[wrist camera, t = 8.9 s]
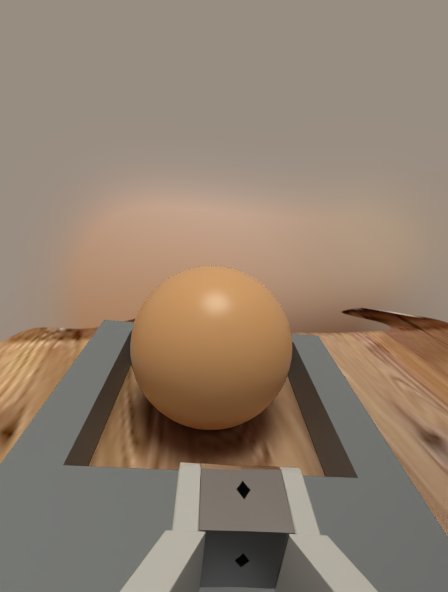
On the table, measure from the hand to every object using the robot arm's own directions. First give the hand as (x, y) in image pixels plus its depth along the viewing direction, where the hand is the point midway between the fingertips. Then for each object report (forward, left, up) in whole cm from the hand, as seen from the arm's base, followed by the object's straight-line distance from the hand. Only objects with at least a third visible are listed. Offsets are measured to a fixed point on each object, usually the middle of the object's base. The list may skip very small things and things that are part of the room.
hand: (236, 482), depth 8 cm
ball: (-9, -9, -3) cm, 13 cm away
